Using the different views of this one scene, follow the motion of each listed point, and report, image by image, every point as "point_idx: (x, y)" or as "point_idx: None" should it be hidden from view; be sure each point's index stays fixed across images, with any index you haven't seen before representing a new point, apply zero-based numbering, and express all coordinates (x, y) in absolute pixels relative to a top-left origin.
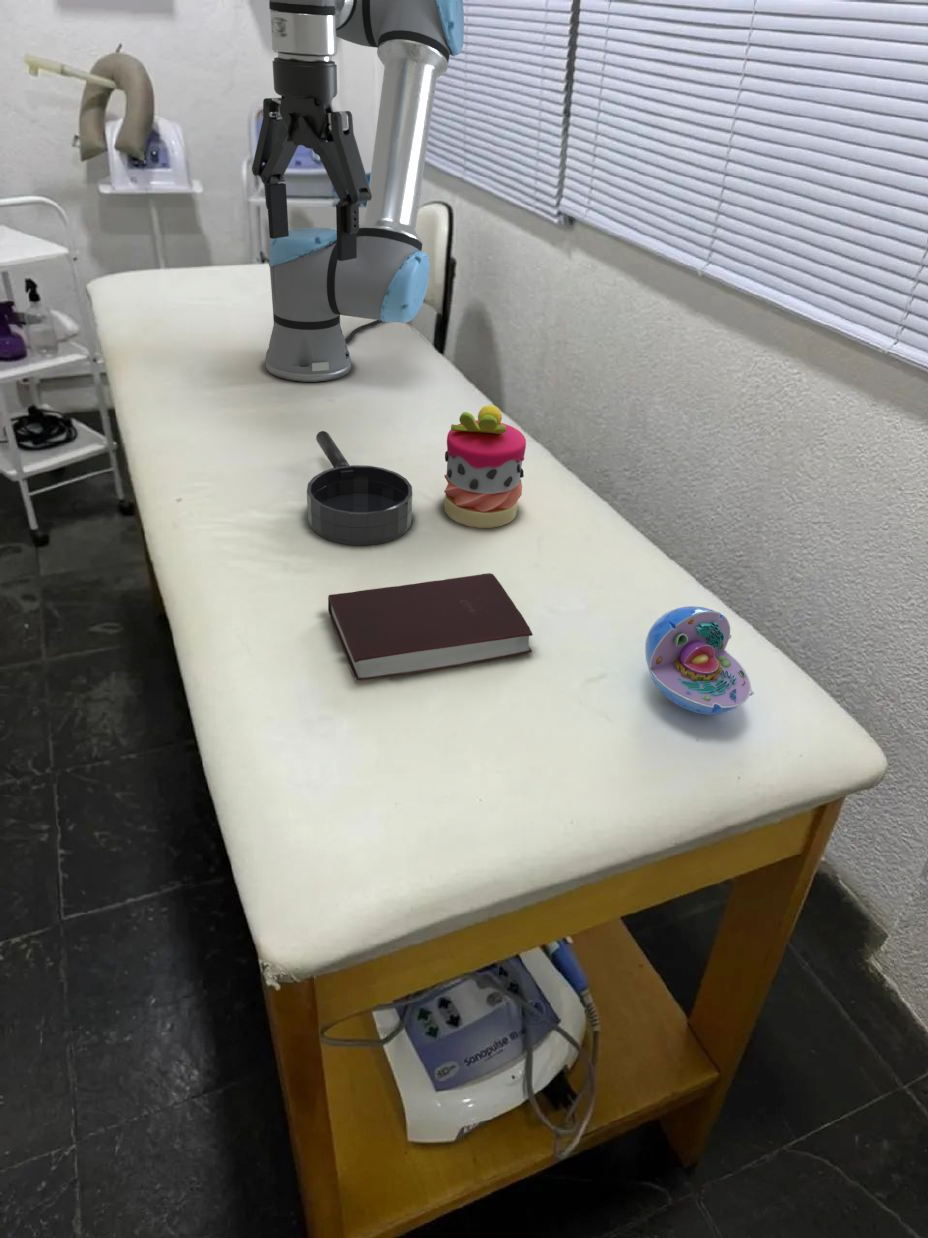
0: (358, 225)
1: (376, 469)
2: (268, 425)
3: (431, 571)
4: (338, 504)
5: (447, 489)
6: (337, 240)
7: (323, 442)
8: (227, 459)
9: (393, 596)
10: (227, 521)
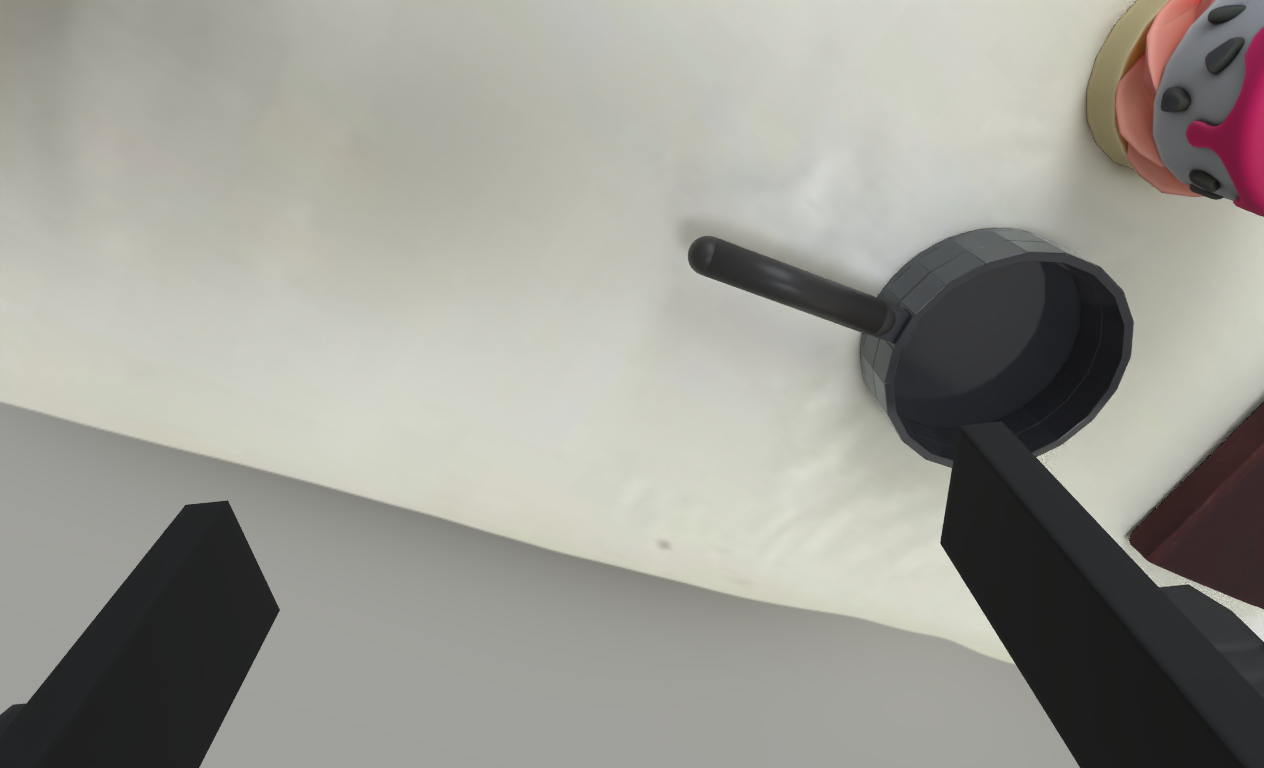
0: (1250, 637)
1: (971, 278)
2: (421, 229)
3: (1206, 346)
4: (907, 349)
5: (1176, 192)
6: (1006, 638)
7: (755, 291)
8: (557, 407)
9: (1251, 502)
10: (787, 519)
